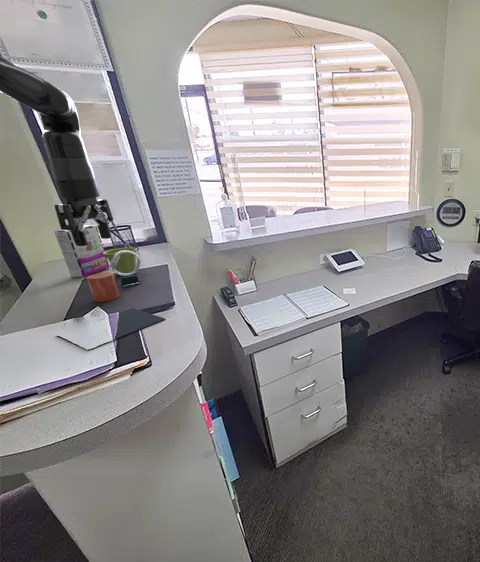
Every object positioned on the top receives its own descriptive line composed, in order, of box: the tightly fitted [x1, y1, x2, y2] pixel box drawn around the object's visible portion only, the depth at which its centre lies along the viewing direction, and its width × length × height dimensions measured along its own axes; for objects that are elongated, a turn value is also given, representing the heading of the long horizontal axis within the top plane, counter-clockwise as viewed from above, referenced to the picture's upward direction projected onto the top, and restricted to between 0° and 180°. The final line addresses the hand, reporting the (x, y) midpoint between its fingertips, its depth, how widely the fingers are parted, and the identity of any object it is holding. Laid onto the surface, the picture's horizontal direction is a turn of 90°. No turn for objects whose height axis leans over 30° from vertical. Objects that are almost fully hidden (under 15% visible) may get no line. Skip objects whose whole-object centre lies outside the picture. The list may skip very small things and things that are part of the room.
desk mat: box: [114, 307, 166, 341], centre depth 74 cm, size 16×14×1 cm
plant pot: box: [103, 247, 138, 276], centre depth 109 cm, size 9×9×9 cm
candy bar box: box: [53, 224, 111, 278], centre depth 109 cm, size 11×5×16 cm, turn 179°
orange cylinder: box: [86, 271, 121, 303], centre depth 89 cm, size 6×6×7 cm
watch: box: [109, 250, 141, 287], centre depth 100 cm, size 6×8×11 cm
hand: (94, 241), depth 82 cm, fingers open, 8 cm apart
